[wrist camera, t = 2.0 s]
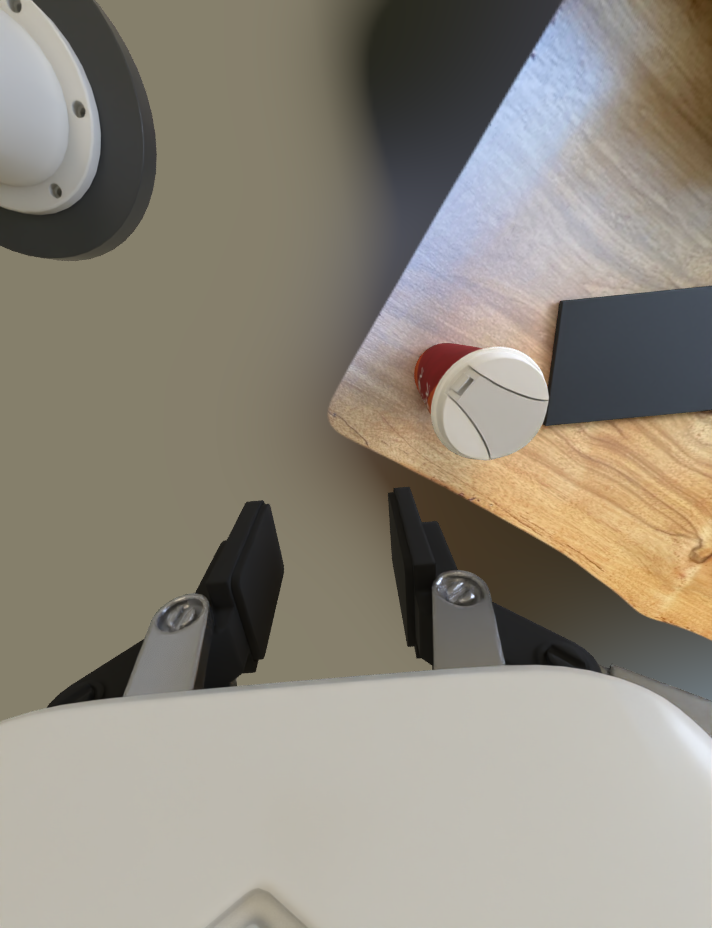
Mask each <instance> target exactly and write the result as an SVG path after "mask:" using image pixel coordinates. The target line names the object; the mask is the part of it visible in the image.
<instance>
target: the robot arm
mask: <svg viewBox="0 0 712 928" xmlns="http://www.w3.org/2000/svg"><path fill="white" fill-rule="evenodd" d="M84 113H85V116H84ZM100 148H101V130H100V123H99V115H98V110H97V106H96V102H95V99H94V95H93V91H92V88H91V86H90V83H89V81H88V79H87V76H86V74H85V71H84V69H83V67H82V65H81V63H80V61H79V59H78V58H77V56H76V54H75V53H74V51H73V49H72V47H71V46H70V44H69V42H68V41H67V40H66V38H65V37H64V36H63V34H62V33H61V32H60V30H59V29H58V28H57V27H56V25H55V24H54V23H53V21H52V20H51V19H50V18H49V17H48V16H47V15H46V14H45V13H44V12H43V11H42V10H41V9H40V8H39V7H38V6H37V5H36V4H35V3H34V2H33V1H32V0H0V207H3V208H5V209H9V210H13V211H16V212H20V213H24V214H34V215H45V214H53V213H57V212H59V211H62V210H64V209H67V208H69V207H71V206H72V205H73V204H74V203H76V202H77V201H78V200H80V199H81V198H82V196H83V195H84V194H85V192H86V191H87V190H88V189H89V187H90V185H91V183H92V181H93V179H94V176H95V174H96V172H97V167H98V162H99V158H100ZM61 192H62V194H61ZM388 501H389V517H390V534H391V550H392V561H393V567H394V573H395V578H396V584H397V590H398V596H399V601H400V607H401V613H402V618H403V624H404V629H405V635H406V641H407V646H408V647H411V646H414V647H415V652H416V657H417V658H422V659H424V660H425V661H427V662H428V663H430V664H431V665H432V670H427V671H415V672H402V673H389V674H378V675H365V676H353V677H352V676H351V677H340V678H328V679H316V680H304V681H292V682H280V683H269V684H257V685H245V686H237V682H236V678H237V677H238V676H239V675H241V674H242V673H253V672H256V668H257V664H258V660H259V659H263V658H264V656H265V653H266V648H267V644H268V639H269V635H270V631H271V626H272V622H273V618H274V613H275V609H276V605H277V600H278V596H279V592H280V587H281V583H282V578H283V574H284V565H283V560H282V555H281V551H280V547H279V542H278V538H277V533H276V529H275V524H274V520H273V516H272V511H271V507H270V505H269V504H265V503H264V501H263V500H262V501H251V502H246V503H245V506H244V507H243V509H242V511H241V513H240V515H239V517H238V519H237V521H236V524H235V525H234V527H233V529H232V531H231V533H230V535H229V537H228V539H227V540H226V541H223V542H222V543H221V544H220V546H219V548H218V550H217V552H216V554H215V556H214V558H213V560H212V562H211V563H210V565H209V567H208V569H207V571H206V573H205V575H204V577H203V579H202V581H201V583H200V585H199V587H198V589H197V590H196V593H193V594H185V595H183V596H179V597H177V598H175V599H173V600H171V601H169V602H168V603H166V604H165V605H164V606H163V607H161V608H160V609H159V610H158V611H157V612H156V614H155V615H154V617H153V619H152V620H151V623H150V626H149V628H148V631H147V634H146V636H145V639H143V640H142V641H140V642H139V643H137V644H136V645H134V646H132V647H131V648H129V649H128V650H126V651H124V652H123V653H121V654H120V655H118V656H117V657H115V658H113V659H112V660H110V661H109V662H107V663H105V664H104V665H102V666H101V667H99V668H98V669H96V670H95V671H93V672H91V673H90V674H88V675H86V676H85V677H83V678H82V679H80V680H79V681H77V682H76V683H74V684H72V685H71V686H69V687H68V688H67V689H65V690H64V691H63V692H61V693H60V694H59V695H58V696H57V697H56V698H55V699H54V700H53V701H52V702H51V703H50V704H49V705H48V707H47V708H45V709H41V710H36V711H32V712H29V713H25V714H22V715H19V716H15V717H12V718H9V719H6V720H3V721H0V928H712V701H711V700H708V699H705V698H702V697H700V696H697V695H694V694H692V693H689V692H686V691H684V690H681V689H678V688H675V687H673V686H670V685H667V684H665V683H662V682H659V681H657V680H654V679H651V678H649V677H645V676H643V675H640V674H638V673H635V672H632V671H630V670H627V669H624V668H621V667H619V666H616V665H613V664H611V665H610V668H607V667H604V666H601V665H599V664H598V663H597V662H596V661H595V659H594V657H593V656H592V655H590V654H589V653H588V652H587V651H586V650H585V649H583V648H582V647H580V646H579V645H577V644H576V643H574V642H572V641H570V640H568V639H566V638H564V637H562V636H560V635H558V634H556V633H554V632H552V631H550V630H548V629H546V628H544V627H542V626H540V625H537V624H536V623H534V622H532V621H530V620H528V619H526V618H524V617H522V616H520V615H518V614H516V613H514V612H512V611H510V610H508V609H506V608H503V607H502V606H500V605H497V604H496V603H494V602H492V601H491V596H490V591H489V589H488V587H487V584H486V583H485V582H484V581H483V580H482V579H481V578H479V577H478V576H476V575H475V574H472V573H470V572H467V571H461V570H458V569H457V567H456V565H455V562H454V560H453V557H452V555H451V553H450V550H449V548H448V545H447V543H446V541H445V538H444V536H443V533H442V531H441V529H440V526H439V524H438V522H437V521H433V522H421V519H420V516H419V513H418V510H417V507H416V504H415V501H414V499H413V496H412V493H411V490H410V487H402V488H394V492H392V493H388Z"/></svg>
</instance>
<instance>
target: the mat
mask: <svg viewBox="0 0 712 928" xmlns="http://www.w3.org/2000/svg"><path fill="white" fill-rule="evenodd" d="M548 394H549V400H547V401H549V402H548V406H547V411H546V415H545V418H544V421H543V425H545V426H550V425H560V424H571V423H581V422H592V421H602V420H613V419H623V418H634V417H645V416H655V415H666V414H676V413H687V412H697V411H708V410H712V286H705V287H695V288H685V289H675V290H665V291H655V292H645V293H635V294H625V295H615V296H605V297H595V298H586V299H576V300H566V301H560V304H559V311H558V318H557V326H556V333H555V340H554V348H553V355H552V362H551V370H550V377H549V384H548Z"/></svg>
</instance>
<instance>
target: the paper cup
mask: <svg viewBox="0 0 712 928" xmlns="http://www.w3.org/2000/svg"><path fill="white" fill-rule="evenodd" d="M414 379H415V383H416V386H417V389H418V391H419V393H420V395H421V397H422V399H423V401H424V403H425V405H426V407H427V408H428V410H429V412H430V414H431V419H432V425H433V428H434V431H435V433H436V435H437V437H438V438H439V440H440V441H441V442H442V444H443V445H444V446H445V447H446V448H448V449H449V450H450V451H452V452H453V453H455V454H457V455H459V456H462V457H465V458H469V459H477V460H490V459H491V460H492V459H496V458H500V457H504V456H507V455H510V454H512V453H514V452H516V451H518V450H520V449H521V448H523V447H524V446H526V445H527V444H528V443H529V442H530V441H531V440H532V439H533V438H534V436H535V435H536V434H537V432H538V430H539V429H540V427H541V425H542V423H543V421H544V418H545V415H546V411H547V406H548V402H549V401H547V400H549V394H548V388H547V385H546V382H545V379H544V376H543V373H542V372H541V370H540V368H539V366H538V365H537V364H536V363H535V362H534V361H533V359H531V358H530V357H529V356H527V355H526V354H524V353H522V352H520V351H518V350H516V349H512V348H509V347H500V346H498V347H488V348H477V347H472V346H465V345H459V344H451V343H442V344H437V345H434V346H432V347H430V348H429V349H427V350H426V351H425V352H424V353H423V354H422V355H421V356H420V358H419V359H418V361H417V363H416V366H415V371H414Z"/></svg>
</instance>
